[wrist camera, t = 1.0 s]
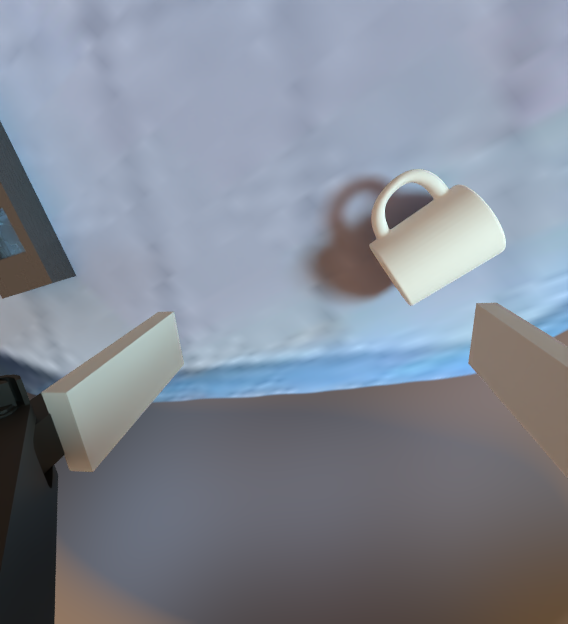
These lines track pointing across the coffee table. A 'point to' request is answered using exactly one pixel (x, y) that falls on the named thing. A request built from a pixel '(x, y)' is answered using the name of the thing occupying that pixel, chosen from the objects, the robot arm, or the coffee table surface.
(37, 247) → the panel
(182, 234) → the coffee table surface
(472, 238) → the mug
